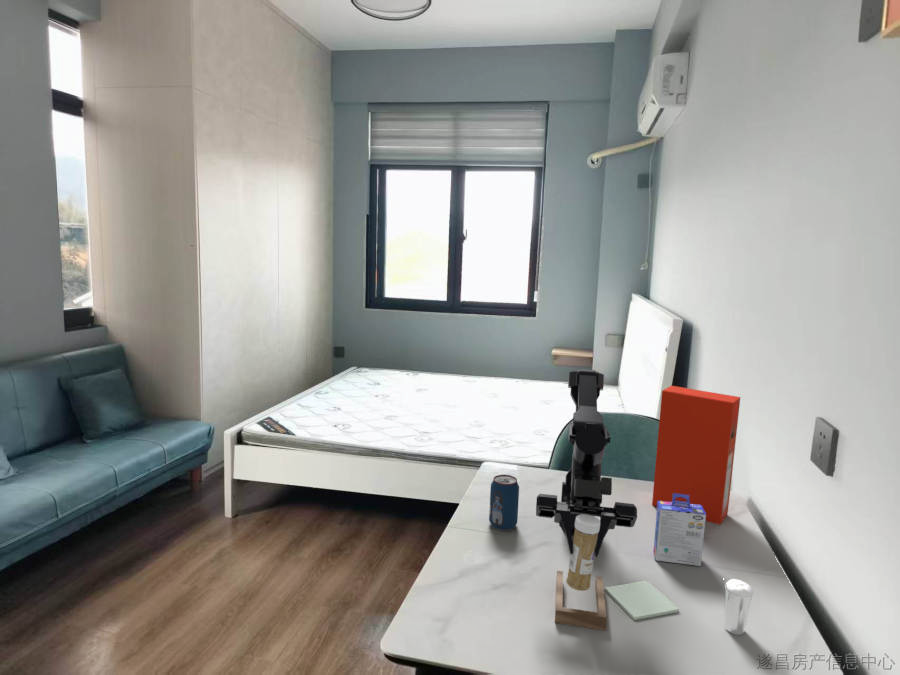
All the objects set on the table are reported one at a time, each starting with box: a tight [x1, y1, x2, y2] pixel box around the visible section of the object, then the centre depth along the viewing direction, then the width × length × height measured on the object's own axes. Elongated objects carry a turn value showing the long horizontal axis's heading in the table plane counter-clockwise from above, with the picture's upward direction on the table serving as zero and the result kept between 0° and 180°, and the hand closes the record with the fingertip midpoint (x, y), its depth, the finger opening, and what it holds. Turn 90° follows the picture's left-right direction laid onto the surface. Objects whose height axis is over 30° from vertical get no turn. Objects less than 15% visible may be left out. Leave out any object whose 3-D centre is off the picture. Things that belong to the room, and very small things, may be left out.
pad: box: [603, 580, 680, 621], centre depth 116 cm, size 10×10×1 cm
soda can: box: [488, 474, 520, 532], centre depth 144 cm, size 7×7×12 cm
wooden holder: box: [554, 570, 608, 631], centre depth 114 cm, size 14×9×2 cm, turn 169°
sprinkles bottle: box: [565, 514, 600, 592], centre depth 111 cm, size 5×5×13 cm
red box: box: [651, 385, 741, 526], centre depth 155 cm, size 8×17×32 cm, turn 52°
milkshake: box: [723, 578, 754, 636], centre depth 107 cm, size 5×5×10 cm
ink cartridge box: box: [652, 493, 707, 567], centre depth 132 cm, size 10×6×14 cm, turn 78°
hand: (583, 555), depth 110 cm, fingers closed on sprinkles bottle, 4 cm apart
